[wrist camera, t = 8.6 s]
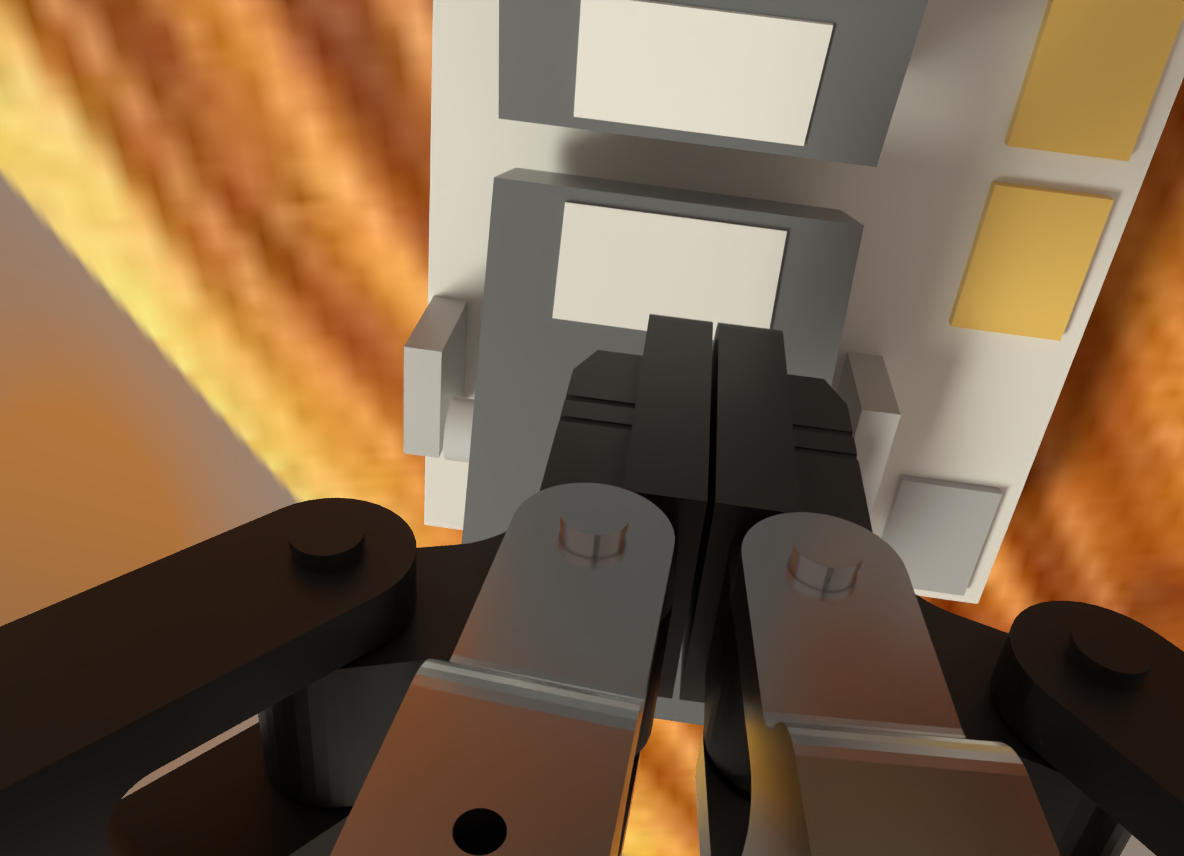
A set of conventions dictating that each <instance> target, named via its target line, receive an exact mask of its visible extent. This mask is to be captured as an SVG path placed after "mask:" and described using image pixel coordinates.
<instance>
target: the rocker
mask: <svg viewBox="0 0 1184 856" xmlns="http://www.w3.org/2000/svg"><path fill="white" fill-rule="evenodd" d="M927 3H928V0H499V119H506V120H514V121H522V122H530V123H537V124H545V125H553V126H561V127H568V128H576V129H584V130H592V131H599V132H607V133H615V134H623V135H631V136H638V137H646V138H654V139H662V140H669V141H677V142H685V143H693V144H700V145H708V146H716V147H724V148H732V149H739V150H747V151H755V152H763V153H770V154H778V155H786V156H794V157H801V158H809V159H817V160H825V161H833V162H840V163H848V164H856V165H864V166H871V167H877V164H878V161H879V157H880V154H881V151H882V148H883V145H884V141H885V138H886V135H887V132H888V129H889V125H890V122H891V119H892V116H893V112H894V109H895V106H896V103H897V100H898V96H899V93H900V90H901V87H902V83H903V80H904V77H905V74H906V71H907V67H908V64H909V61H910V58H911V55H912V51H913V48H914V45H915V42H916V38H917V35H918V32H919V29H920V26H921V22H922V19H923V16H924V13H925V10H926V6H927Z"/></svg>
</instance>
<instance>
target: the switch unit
mask: <svg viewBox="0 0 1184 856" xmlns="http://www.w3.org/2000/svg"><path fill="white" fill-rule="evenodd" d="M1183 78H1184V0H928V3H927V6H926V10H925V13H924V16H923V19H922V22H921V26H920V29H919V32H918V35H917V38H916V42H915V45H914V48H913V51H912V55H911V58H910V61H909V64H908V67H907V71H906V74H905V77H904V80H903V83H902V87H901V90H900V93H899V96H898V100H897V103H896V106H895V109H894V112H893V116H892V119H891V122H890V125H889V129H888V132H887V135H886V138H885V141H884V145H883V148H882V151H881V154H880V157H879V161H878V164H877V167H871V166H864V165H856V164H848V163H840V162H833V161H825V160H817V159H809V158H801V157H794V156H786V155H778V154H770V153H763V152H755V151H747V150H739V149H732V148H724V147H716V146H708V145H700V144H693V143H685V142H677V141H669V140H662V139H654V138H646V137H638V136H631V135H623V134H615V133H607V132H599V131H592V130H584V129H576V128H568V127H561V126H553V125H545V124H537V123H530V122H522V121H514V120H506V119H499V0H433V43H432V102H431V160H430V218H429V277H428V307H427V308H426V310H425V312H424V313H423V315H422V317H421V319H420V320H419V322H418V324H417V325H416V327H415V329H414V331H413V332H412V334H411V336H410V337H409V339H408V341H407V343H406V344H405V346H404V453H407V454H414V455H421V456H425V511H424V525H431V526H438V527H445V528H452V529H459V530H463V524H464V513H465V501H466V490H467V478H468V467H469V463H465V462H458V461H451V460H445V459H444V455H443V439H444V429H445V423H446V417H447V413H448V409H449V405H450V403H451V400H452V398H453V397H461V398H468V399H474V398H475V387H476V376H477V364H478V353H479V341H480V330H481V319H482V307H483V296H484V284H485V273H486V262H487V250H488V239H489V227H490V216H491V205H492V193H493V182H494V177H496V176H498V175H500V174H502V173H505V172H507V171H509V170H511V169H513V168H524V169H531V170H539V171H547V172H554V173H562V174H570V175H577V176H585V177H593V178H600V179H608V180H616V181H623V182H631V183H639V184H646V185H654V186H662V187H669V188H677V189H685V190H692V191H700V192H708V193H715V194H723V195H731V196H739V197H746V198H754V199H762V200H769V201H777V202H785V203H792V204H800V205H808V206H815V207H823V208H831V209H838V210H842V211H843V212H845V213H846V214H848V215H849V216H851V217H852V218H853V219H855V220H856V221H858V222H859V223H861V224H862V225H864V228H863V233H862V238H861V243H860V248H859V253H858V258H857V263H856V268H855V272H854V277H853V282H852V287H851V292H850V297H849V302H848V307H847V312H846V317H845V322H844V327H843V332H842V336H841V341H840V346H839V351H838V356H837V361H836V366H835V371H834V376H833V381H832V386H831V387H832V388H833V389H834V390H835V392H836V393H837V394H838V395H839V396H840V397H841V398H842V399H843V400H844V401H845V403H846V404H847V405H848V410H849V415H850V420H851V425H852V430H853V434H852V437H854V440H855V445H856V450H857V460H859V465H860V470H861V475H862V480H863V485H864V490H865V496H866V501H867V506H868V511H869V516H870V521H871V526H872V531H873V533H874V534H876V535H877V536H879V537H880V538H881V539H883V540H884V541H885V542H887V543H888V544H889V545H890V546H891V547H892V548H893V549H894V550H895V551H896V552H897V554H898V555H899V557H900V558H901V559H902V561H903V563H904V565H905V567H906V569H907V572H908V575H909V577H910V580H911V583H912V586H913V589H914V592H915V594H916V595H919V596H926V597H933V598H940V599H947V600H954V601H961V602H968V603H975V604H978V602H979V599H980V597H981V594H982V592H983V589H984V587H985V584H986V582H987V579H988V576H989V574H990V571H991V569H992V566H993V564H994V561H995V559H996V556H997V553H998V551H999V548H1000V546H1001V543H1002V541H1003V538H1004V536H1005V533H1006V530H1007V528H1008V525H1009V523H1010V520H1011V518H1012V515H1013V513H1014V510H1015V507H1016V505H1017V502H1018V500H1019V497H1020V495H1021V492H1022V489H1023V487H1024V484H1025V482H1026V479H1027V477H1028V474H1029V472H1030V469H1031V466H1032V464H1033V461H1034V459H1035V456H1036V454H1037V451H1038V449H1039V446H1040V443H1041V441H1042V438H1043V436H1044V433H1045V431H1046V428H1047V426H1048V423H1049V420H1050V418H1051V415H1052V413H1053V410H1054V408H1055V405H1056V403H1057V400H1058V397H1059V395H1060V392H1061V390H1062V387H1063V385H1064V382H1065V380H1066V377H1067V374H1068V372H1069V369H1070V367H1071V364H1072V362H1073V359H1074V357H1075V354H1076V351H1077V349H1078V346H1079V344H1080V341H1081V339H1082V336H1083V334H1084V331H1085V328H1086V326H1087V323H1088V321H1089V318H1090V316H1091V313H1092V311H1093V308H1094V305H1095V303H1096V300H1097V298H1098V295H1099V293H1100V290H1101V287H1102V285H1103V282H1104V280H1105V277H1106V275H1107V272H1108V270H1109V267H1110V264H1111V262H1112V259H1113V257H1114V254H1115V252H1116V249H1117V247H1118V244H1119V241H1120V239H1121V236H1122V234H1123V231H1124V229H1125V226H1126V224H1127V221H1128V218H1129V216H1130V213H1131V211H1132V208H1133V206H1134V203H1135V201H1136V198H1137V195H1138V193H1139V190H1140V188H1141V185H1142V183H1143V180H1144V178H1145V175H1146V172H1147V170H1148V167H1149V165H1150V162H1151V160H1152V157H1153V155H1154V152H1155V149H1156V147H1157V144H1158V142H1159V139H1160V137H1161V134H1162V132H1163V129H1164V126H1165V124H1166V121H1167V119H1168V116H1169V114H1170V111H1171V109H1172V106H1173V103H1174V101H1175V98H1176V96H1177V93H1178V91H1179V88H1180V85H1181V83H1182V80H1183Z"/></svg>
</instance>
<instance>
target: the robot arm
mask: <svg viewBox="0 0 1184 856" xmlns="http://www.w3.org/2000/svg"><path fill="white" fill-rule="evenodd" d="M712 339H713V322H710V321H702V320H694V319H686V318H679V317H671V316H663V315H655V314H649V320H648V327H647V333H646V340H645V346H644V352H643V356H642V355H634V354H626V353H619V352H611V351H603V350H597V351H596V352H594V353H593V354H592V355H591V356H589V357H588V358H587V359H585V360H584V361H583V362H582V363H580V364H579V365H578V366H577V367H575V368H574V369H573V372H572V376H571V379H570V383H569V386H568V390H567V394H566V399H565V401H564V404H563V408H562V412H561V415H560V421H559V423H558V426H557V430H556V433H555V437H554V441H553V444H552V448H551V451H550V455H549V459H548V462H547V466H546V470H545V473H544V477H543V480H542V484H541V488H540V491H539V492H538V493H536V494H533V495H532V496H531V497H529V498H528V499H526V500H525V501H524V502H523V503H522V504H521V505H520V506H519V507H518V509H517V510H516V512H515V514H514V515H513V517H512V520H511V522H510V524H509V527H508V529H507V531H506V532H504V533H502V534H499V535H497V536H494V537H491V538H488V539H486V540H481V541H477V542H473V543H466V544H459V545H448V546H435V547H423V548H416V540H415V537H414V534H413V532H412V530H411V529H410V527H409V526H408V524H407V523H406V522H405V521H404V520H403V519H402V518H401V517H400V516H398V515H397V514H395V513H394V512H392V511H391V510H389V509H386V508H384V507H382V506H380V505H377V504H374V503H370V502H367V501H362V500H356V499H347V498H323V499H316V500H308V501H304V502H300V503H296V504H293V505H290V506H287V507H284V508H282V509H279V510H277V511H274V512H272V513H270V514H267V515H265V516H262V517H260V518H258V519H255V520H253V521H250V522H248V523H246V524H243V525H241V526H239V527H236V528H234V529H232V530H229V531H227V532H224V533H222V534H220V535H217V536H215V537H212V538H210V539H208V540H205V541H203V542H201V543H198V544H196V545H193V546H191V547H189V548H186V549H184V550H181V551H179V552H177V553H175V554H172V555H170V556H167V557H165V558H163V559H160V560H158V561H155V562H153V563H151V564H148V565H146V566H143V567H141V568H139V569H136V570H134V571H132V572H129V573H127V574H124V575H122V576H120V577H117V578H115V579H113V580H110V581H108V582H105V583H103V584H101V585H98V586H96V587H94V588H91V589H89V590H86V591H84V592H82V593H79V594H77V595H75V596H72V597H70V598H67V599H65V600H63V601H60V602H58V603H56V604H53V605H51V606H49V607H46V608H44V609H41V610H39V611H36V612H34V613H32V614H30V615H27V616H25V617H22V618H20V619H17V620H15V621H13V622H10V623H8V624H6V625H3V626H1V627H0V856H622V850H623V845H624V840H625V835H626V829H627V824H628V819H629V814H630V808H631V803H632V798H633V793H634V787H635V782H636V777H637V772H638V766H639V760H640V754H641V750H642V748H643V747H644V746H645V744H646V743H647V741H648V739H649V737H650V734H651V730H652V725H653V719H654V713H655V707H656V701H657V697H664V698H671V699H672V697H673V691H674V686H675V680H676V675H677V669H678V663H679V658H680V652H681V647H682V658H681V676H680V694H679V699H680V700H687V701H694V702H701V703H705V705H704V730H703V735H702V739H701V744H700V749H699V754H698V759H697V764H696V775H695V778H696V795H697V813H698V830H699V848H700V856H1120V854H1121V853H1122V851H1123V849H1124V847H1125V846H1126V844H1127V842H1128V840H1129V839H1130V837H1131V835H1133V836H1134V837H1135V838H1137V839H1138V840H1139V841H1140V842H1141V843H1142V844H1144V845H1145V846H1146V847H1147V848H1148V849H1149V850H1151V851H1152V852H1153V853H1154V854H1155V855H1156V856H1184V652H1183V651H1182V650H1180V649H1179V648H1178V647H1176V646H1175V645H1173V644H1172V643H1170V642H1169V641H1167V640H1166V639H1165V638H1163V637H1162V636H1160V635H1159V634H1157V633H1156V632H1154V631H1153V630H1151V629H1149V628H1148V627H1146V626H1145V625H1143V624H1141V623H1139V622H1137V621H1135V620H1133V619H1131V618H1129V617H1127V616H1125V615H1122V614H1120V613H1117V612H1115V611H1112V610H1109V609H1106V608H1103V607H1099V606H1096V605H1091V604H1086V603H1082V602H1073V601H1050V602H1043V603H1039V604H1036V605H1033V606H1030V607H1028V608H1027V609H1025V610H1024V611H1022V612H1021V613H1020V614H1019V615H1018V616H1017V617H1016V618H1015V620H1014V622H1013V624H1012V626H1011V629H1010V631H1009V634H1008V633H1006V632H1003V631H1000V630H997V629H995V628H992V627H989V626H986V625H983V624H981V623H978V622H975V621H972V620H969V619H967V618H964V617H961V616H958V615H956V614H953V613H951V612H948V611H946V610H943V609H941V608H939V607H937V606H935V605H933V604H931V603H929V602H927V601H926V600H924V599H922V598H921V597H919V596H918V595H916V594H915V592H914V589H913V586H912V583H911V580H910V577H909V575H908V572H907V569H906V567H905V565H904V563H903V561H902V559H901V558H900V557H899V555H898V554H897V552H896V551H895V550H894V549H893V548H892V547H891V546H890V545H889V544H888V543H887V542H885V541H884V540H883V539H881V538H880V537H879V536H877V535H876V534H874V533H873V531H872V526H871V521H870V516H869V511H868V506H867V501H866V496H865V490H864V485H863V480H862V475H861V470H860V465H859V460H857V450H856V445H855V440H854V437H852V434H853V430H852V425H851V420H850V415H849V410H848V405H847V404H846V403H845V401H844V400H843V399H842V398H841V397H840V396H839V395H838V394H837V393H836V392H835V390H834V389H833V388H832V387H831V386H830V385H829V384H828V383H827V382H826V381H825V379H821V378H813V377H806V376H798V375H790V374H787V366H786V356H785V346H784V337H783V331H782V330H774V329H767V328H759V327H751V326H743V325H735V324H727V323H719V322H718V324H717V327H716V331H715V336H714V342H713V348H712ZM256 714H258V717H259V722H258V723H257V724H255V725H253V726H251V727H249V728H248V729H246V730H244V731H242V732H240V733H239V734H237V735H235V736H233V737H232V738H230V739H228V740H226V741H224V742H223V743H221V744H219V745H217V746H216V747H214V748H212V749H210V750H208V751H207V752H205V753H203V754H201V755H200V756H198V757H196V758H195V759H192V760H191V761H189V762H187V763H185V764H183V765H182V766H180V767H178V768H176V769H175V770H173V771H171V772H169V773H167V774H166V775H164V776H162V777H160V778H158V779H157V780H155V781H153V782H151V783H150V784H148V785H146V786H144V787H143V788H141V789H139V790H137V791H135V792H134V793H132V794H130V795H128V796H126V797H125V798H123V799H121V798H122V797H123V796H124V795H125V794H126V792H127V791H128V790H129V789H131V788H132V787H133V786H134V785H135V784H136V783H137V782H138V781H140V780H141V779H142V778H144V777H145V776H147V775H148V774H150V773H151V772H153V771H155V770H157V769H159V768H160V767H162V766H164V765H166V764H168V763H169V762H171V761H173V760H175V759H177V758H178V757H180V756H182V755H184V754H186V753H187V752H189V751H191V750H193V749H195V748H196V747H198V746H200V745H202V744H204V743H205V742H207V741H209V740H211V739H213V738H214V737H216V736H218V735H220V734H222V733H223V732H225V731H227V730H229V729H231V728H232V727H234V726H236V725H238V724H240V723H241V722H243V721H245V720H247V719H249V718H250V717H252V716H254V715H256ZM120 799H121V800H120Z"/></svg>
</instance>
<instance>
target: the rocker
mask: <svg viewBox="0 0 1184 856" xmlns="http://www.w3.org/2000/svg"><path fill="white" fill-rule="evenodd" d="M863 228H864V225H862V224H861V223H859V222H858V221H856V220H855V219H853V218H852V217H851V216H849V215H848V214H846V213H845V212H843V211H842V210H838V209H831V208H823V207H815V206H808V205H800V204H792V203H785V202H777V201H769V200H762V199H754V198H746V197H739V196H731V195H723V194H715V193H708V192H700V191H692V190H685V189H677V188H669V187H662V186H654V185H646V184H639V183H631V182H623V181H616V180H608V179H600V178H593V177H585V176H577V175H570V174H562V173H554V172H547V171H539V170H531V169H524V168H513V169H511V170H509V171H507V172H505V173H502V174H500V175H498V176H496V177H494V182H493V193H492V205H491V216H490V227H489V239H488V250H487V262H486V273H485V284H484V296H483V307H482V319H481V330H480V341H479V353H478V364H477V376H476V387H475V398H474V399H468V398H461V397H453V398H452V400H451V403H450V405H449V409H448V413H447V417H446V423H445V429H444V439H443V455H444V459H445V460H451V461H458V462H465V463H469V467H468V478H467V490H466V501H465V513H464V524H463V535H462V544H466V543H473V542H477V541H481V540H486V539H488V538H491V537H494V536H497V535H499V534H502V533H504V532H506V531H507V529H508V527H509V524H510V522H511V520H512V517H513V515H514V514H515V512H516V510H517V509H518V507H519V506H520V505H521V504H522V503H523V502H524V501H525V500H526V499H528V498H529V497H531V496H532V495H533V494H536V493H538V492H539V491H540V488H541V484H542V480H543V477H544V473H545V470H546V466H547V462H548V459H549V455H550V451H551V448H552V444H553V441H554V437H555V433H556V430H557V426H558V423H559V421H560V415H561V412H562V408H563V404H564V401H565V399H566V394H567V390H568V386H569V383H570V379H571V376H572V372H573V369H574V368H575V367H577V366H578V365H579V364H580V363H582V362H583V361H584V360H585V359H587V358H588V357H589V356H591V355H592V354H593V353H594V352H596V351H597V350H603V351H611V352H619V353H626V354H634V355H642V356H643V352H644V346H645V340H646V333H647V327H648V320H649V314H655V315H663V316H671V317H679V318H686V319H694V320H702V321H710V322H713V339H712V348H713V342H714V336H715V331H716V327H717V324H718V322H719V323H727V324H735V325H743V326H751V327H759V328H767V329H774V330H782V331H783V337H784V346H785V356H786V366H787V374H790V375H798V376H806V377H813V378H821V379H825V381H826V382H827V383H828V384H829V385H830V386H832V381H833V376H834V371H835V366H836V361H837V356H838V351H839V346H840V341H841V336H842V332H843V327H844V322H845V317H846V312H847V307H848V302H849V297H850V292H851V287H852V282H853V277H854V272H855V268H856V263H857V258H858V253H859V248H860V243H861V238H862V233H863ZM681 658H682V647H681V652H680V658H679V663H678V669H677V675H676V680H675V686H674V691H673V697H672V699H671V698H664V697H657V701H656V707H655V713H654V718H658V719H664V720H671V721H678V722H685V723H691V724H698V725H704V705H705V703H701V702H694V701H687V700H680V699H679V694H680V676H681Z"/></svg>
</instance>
